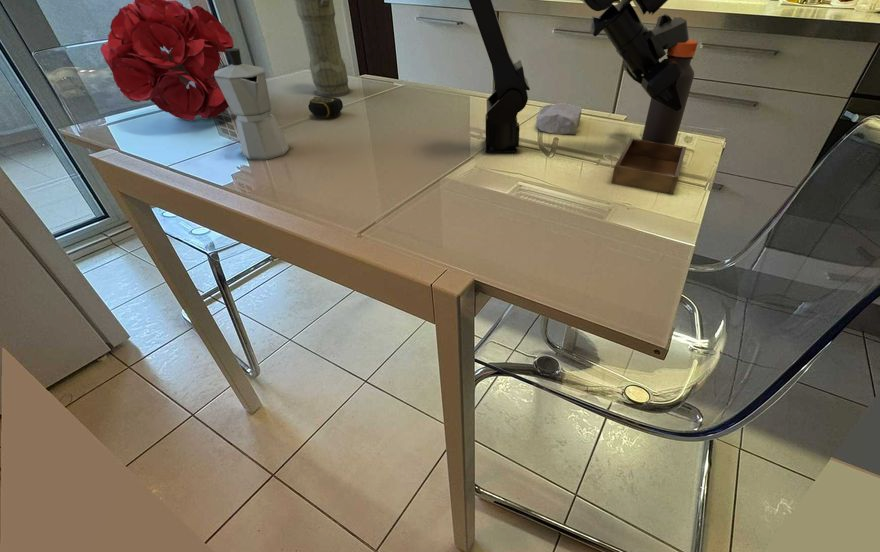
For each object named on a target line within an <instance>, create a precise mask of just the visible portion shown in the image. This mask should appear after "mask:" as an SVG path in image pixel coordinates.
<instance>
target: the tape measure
mask: <svg viewBox="0 0 880 552" xmlns="http://www.w3.org/2000/svg"><path fill="white" fill-rule="evenodd" d="M343 108H344V104H343V100H342V99H341V98H339V97H326V96H314V97H312V98H311V99H309V103H308V110H309V111H310V112H311V113H312V115H313V116H314V117H318V118H323V119H330V118H331V117H335V116H338V115H340V114H341V111H342V110H343Z"/></svg>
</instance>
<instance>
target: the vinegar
mask: <svg viewBox="0 0 880 552" xmlns="http://www.w3.org/2000/svg"><path fill="white" fill-rule="evenodd" d="M698 44H699V43H698V41H697V40H695V39H691V38H689V40H688V41H686V42H684V43H678V44H677V45H675V46H673V47H671V48H668V49H666V50H667V51H666V57H667V58H666V59H672V60H674V61H675V62H677V63H678V65H679V66H680V68H681V69H682V71H683V73H682V74H681V77H680V78H679V79H678V81H677V84H676V86H677V90H678V94H679V98H680V102H681V105H682V108H681V109H680V110H679V111H675V110H673V109H671V108H669V107H668V106H666V105H664V104H662V103H660V102H658V101H656V100H654V99H652V98H651V97H650V102H649V105H648V106H649V107H648V111H647V115H646V120H645V123H644V128H643V132H642V137H641V140H646V141H653V142H659V143H665V144H671V145H676V141H677V138H678V135H679V130H680V127H681V123H682V120H683V117H684V113H685V109H686V105H687V102H688V99H689V95H690V92H691V88H692V85H693V81H694V78H695V71H694V69H693V67H692V65H691V61H692V60H694V56H695V55H696V50H697V47H698Z"/></svg>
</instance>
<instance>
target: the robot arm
mask: <svg viewBox="0 0 880 552" xmlns="http://www.w3.org/2000/svg"><path fill="white" fill-rule="evenodd" d="M581 1H582V3H584V5H585V6H587V7H588V8H589V9H591V10H593V11H594V12H601V11H603V12H602V13H601V14H600V15H599V16H598V15H597V16H595V15H592V16H591V17H590V18H591V25H590V29H589V33H590V34H591V35H592V36H594V37H597V36H598V35H599V34H600V33H601V32H602V31H603V32H604V34H605V35H606V37H607V38H608V40H609V41H610V42H611V44H612V46H613V47H614V48H615V51H616V53H617V54H618V56H619V57H620V58H621V59H622V60H623V62H622V68H623V69H624V70H625V72H626V74H627V75H628V76H629V77H630V78H631V79H632V80H633V81H635V82H636V83H637V84H639V85H640V86H641V88H643V90H644V91H645V93H646V94H647V95H648V96H649V97H650V99H651V98H652V99H654V100H656V101H658V102H660V103H662V104H664V105H666V106H668V107H669V108H671V109H673V110H675V111H679V110H680V109H681V108H682V105H681V102H680V98H679V94H678V90H677V86H676V84H677V81H678V79H679V78H680V77H681V74H682V73H683V71H682V69H681V68H680V66H679V65H678V63H677V62H675V61H674V60H672V59H667V58H663V57H664V56H666V55H667V51H666V50H668V48H671V47H673V46H675V45H677V44H678V43H684V42H686V41H688V40H689V39H690V36H689V29H688V21H687V19H685V18H683V17H680V16H679V17H676V16H675V17H673V19H672V18H671V16H670V15H669V14H667V13H664V14H662V15H660V16H658V17H657V20H656V24H655V26H653V29H648V28H647V27H646V26H645V25H644V23H643V21H642V20H641V18H640V17H639V15H638V13H637V12H636V10H635V9H634V7H635V8H636V9H637V11H638V12H639V13H640V15H642V16H645V15H646V14H648V15H650V16H653V15H654V14H655V13H656V12H657V11H658V10H659V9H661V7H663V6H664V5H665V4H666V3H667V2H668V1H669V0H581ZM468 2H469V5H470V8H471V10H472V14H473V16H474V19H475V22H476V25H477V27H478V31H479V33H480V36H481V39H482V42H483V45H484V47H485V51H486V53H487V56H488V58H489V62H490V65H491V70H492V76H493V82H494V87H495V90H494V92H492V94H491V95H489V96H488V98H487V99H486V113H485V139H484V152H485V153H487V154H516V153H518V148H519V146H520V131H521V130H520V128H521V127H520V123H519V122H518V115H519V113H520V112H521V111H523V110H524V109H525V108H526V105H527V103H528V101H529V95H528V91H530V90H531V88H530V84H529V80H528V79H527V77H526V76H525V71H524V67H523V63H522V60H521V59H519V60H517V61H516V62H515V61H514V60H513V58H512V57H511V54H510V52H509V50H508V46H507V43H506V40H505V38H504V35H503V31H502V28H501V24H500V22H499V18H498V16H497V13H496V9H495V7H494V3H493V1H492V0H468ZM616 2H618V3H617V4H616V5H615V4H614V3H616ZM632 3H633V5H634V7H633V5H632ZM662 58H663V59H662ZM661 59H662V60H661ZM660 60H661V61H660Z"/></svg>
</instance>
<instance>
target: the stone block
mask: <svg viewBox="0 0 880 552" xmlns="http://www.w3.org/2000/svg"><path fill="white" fill-rule="evenodd" d="M582 108H583V106H582V105H575V104H569V103H564V102H557V103H554V104H547V105H544V106H543V107H542V108H541V109H540V110H539V112H538V114H537V115H536V126H537V128H538V129H539V131H541V132H545V133H549V134H556V135H557V134H560V135H576V134H577V131H578V128H579V124H580V120H581V117H582Z"/></svg>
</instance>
